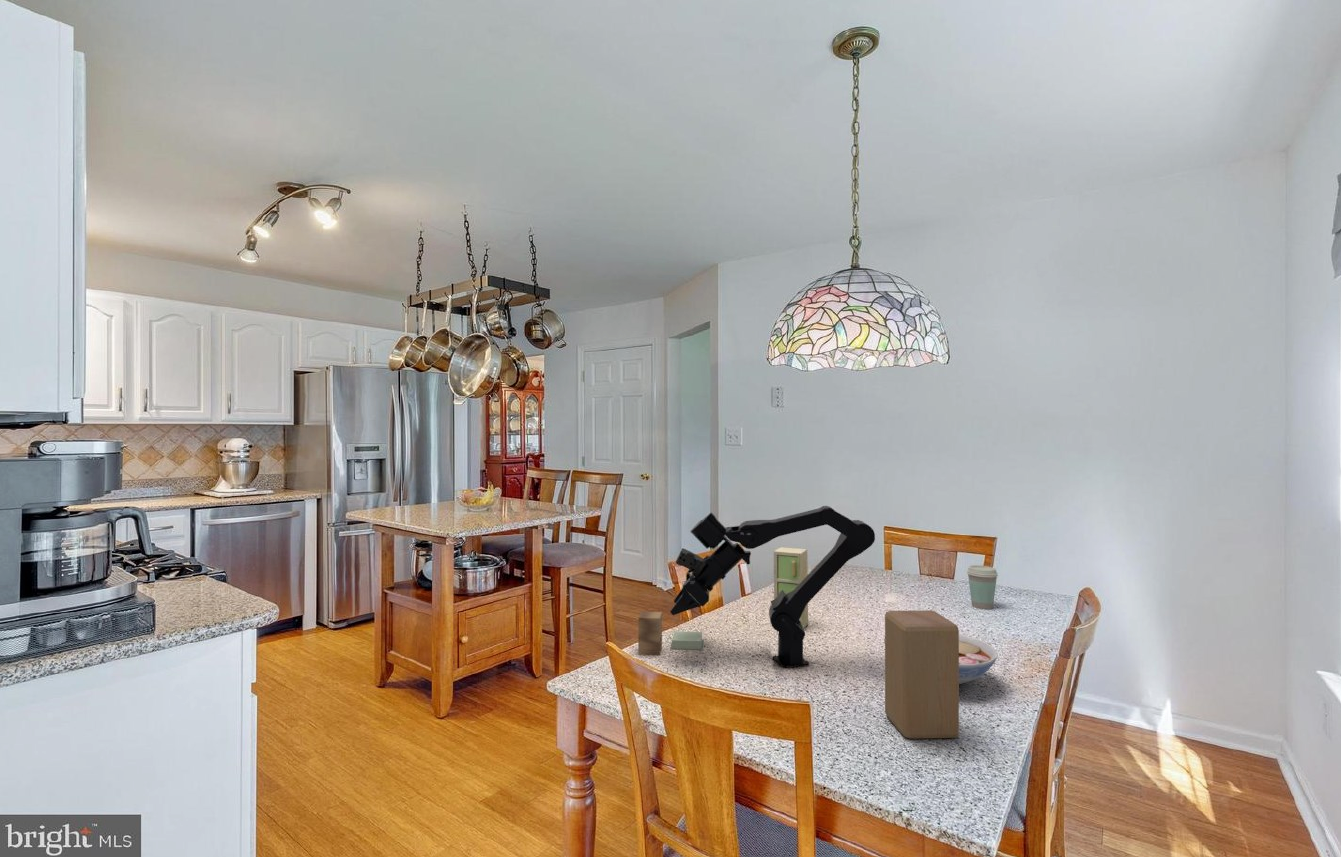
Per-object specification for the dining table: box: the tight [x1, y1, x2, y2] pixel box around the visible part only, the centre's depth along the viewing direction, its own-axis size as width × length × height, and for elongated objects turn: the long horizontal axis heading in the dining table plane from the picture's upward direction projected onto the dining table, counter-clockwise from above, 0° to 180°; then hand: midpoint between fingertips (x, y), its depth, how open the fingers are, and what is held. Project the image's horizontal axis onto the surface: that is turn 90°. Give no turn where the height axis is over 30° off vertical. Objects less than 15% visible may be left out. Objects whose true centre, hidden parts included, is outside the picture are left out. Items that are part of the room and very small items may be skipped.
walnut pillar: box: [637, 611, 663, 656], centre depth 147 cm, size 5×5×10 cm
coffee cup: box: [966, 564, 999, 610], centre depth 191 cm, size 8×9×12 cm
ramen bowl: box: [883, 633, 999, 685], centre depth 134 cm, size 25×23×8 cm
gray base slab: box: [669, 638, 705, 651], centre depth 152 cm, size 8×8×2 cm
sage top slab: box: [671, 630, 703, 651], centre depth 152 cm, size 7×7×2 cm
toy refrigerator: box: [773, 546, 809, 630], centre depth 171 cm, size 8×7×21 cm
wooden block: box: [884, 609, 960, 739], centre depth 112 cm, size 10×10×20 cm
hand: (673, 607), depth 147 cm, fingers open, 9 cm apart
